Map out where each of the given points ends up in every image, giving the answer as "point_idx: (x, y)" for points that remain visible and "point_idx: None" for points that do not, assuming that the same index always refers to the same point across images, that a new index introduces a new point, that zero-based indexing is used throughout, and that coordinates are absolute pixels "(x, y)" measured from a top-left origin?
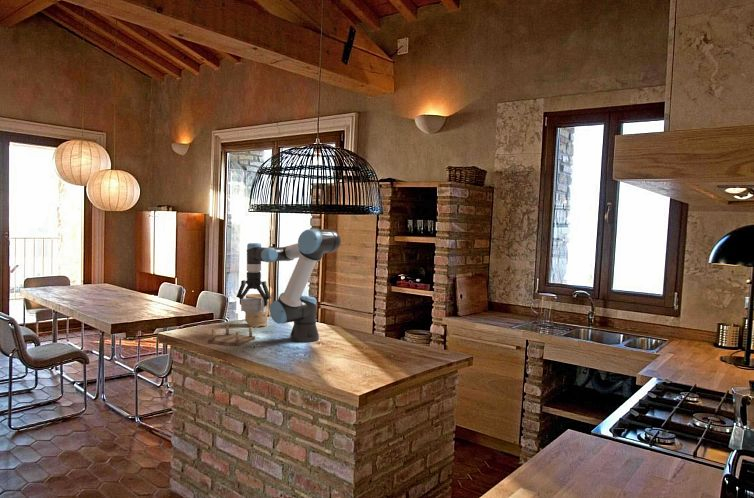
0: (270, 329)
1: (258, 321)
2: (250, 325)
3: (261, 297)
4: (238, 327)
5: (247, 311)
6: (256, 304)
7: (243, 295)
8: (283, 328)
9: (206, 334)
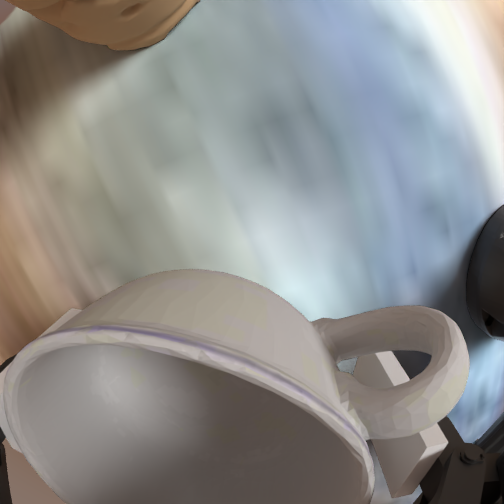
0: (277, 54)
1: (159, 17)
2: (113, 49)
3: None
4: (55, 92)
5: (201, 444)
6: (304, 494)
7: (7, 491)
8: (346, 8)
9: (25, 327)
